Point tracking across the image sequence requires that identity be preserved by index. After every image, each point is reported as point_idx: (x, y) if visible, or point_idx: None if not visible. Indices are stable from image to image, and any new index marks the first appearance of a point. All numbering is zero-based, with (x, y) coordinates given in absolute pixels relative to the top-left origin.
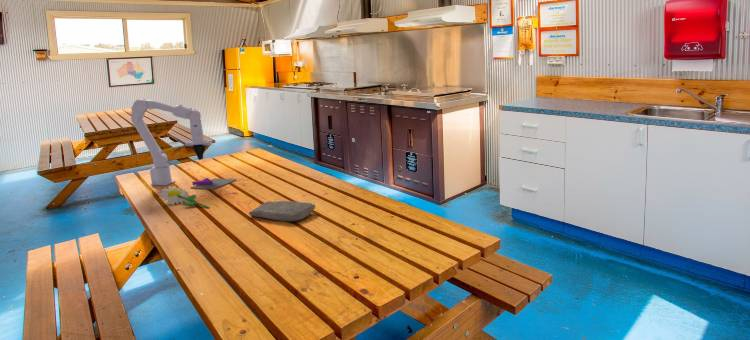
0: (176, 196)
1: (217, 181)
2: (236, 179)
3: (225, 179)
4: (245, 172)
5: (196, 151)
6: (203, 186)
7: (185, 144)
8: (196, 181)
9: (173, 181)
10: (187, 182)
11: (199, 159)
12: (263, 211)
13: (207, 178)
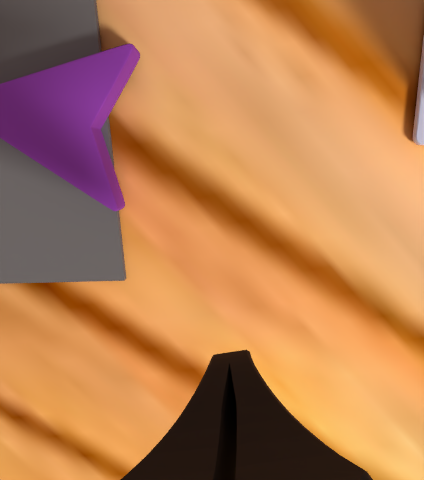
0: None
1: (19, 204)
2: None
3: (5, 267)
4: (43, 460)
5: (256, 431)
6: (3, 34)
7: None
8: (105, 69)
9: (419, 113)
10: (283, 148)
11: (232, 352)
12: None
13: (87, 188)
